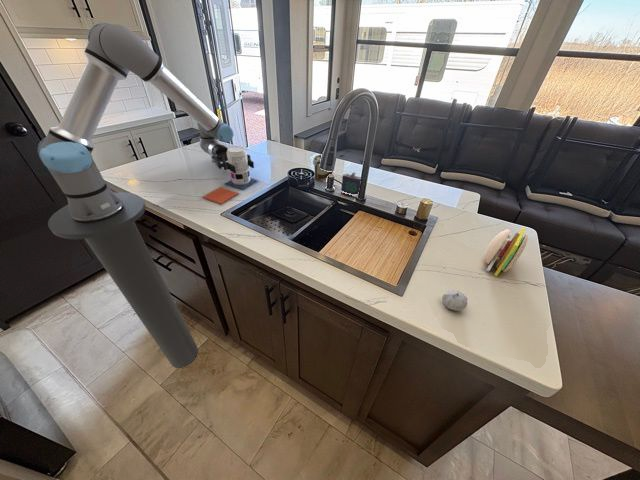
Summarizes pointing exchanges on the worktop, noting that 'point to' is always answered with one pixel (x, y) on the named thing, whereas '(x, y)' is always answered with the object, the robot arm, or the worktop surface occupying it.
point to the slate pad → (241, 185)
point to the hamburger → (505, 250)
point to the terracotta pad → (220, 195)
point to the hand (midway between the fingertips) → (243, 167)
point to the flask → (350, 184)
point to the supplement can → (239, 165)
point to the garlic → (455, 300)
